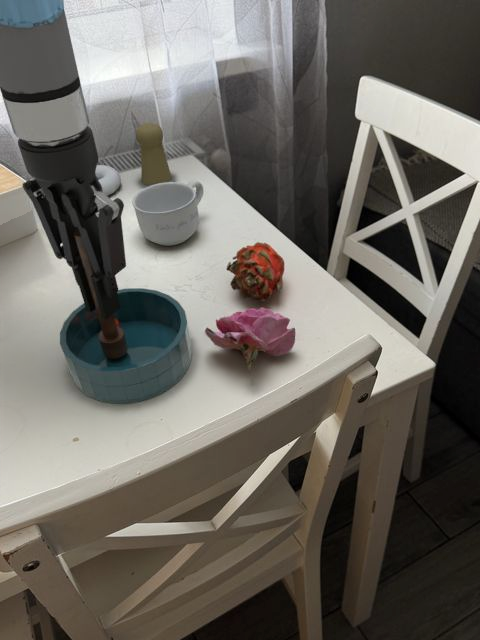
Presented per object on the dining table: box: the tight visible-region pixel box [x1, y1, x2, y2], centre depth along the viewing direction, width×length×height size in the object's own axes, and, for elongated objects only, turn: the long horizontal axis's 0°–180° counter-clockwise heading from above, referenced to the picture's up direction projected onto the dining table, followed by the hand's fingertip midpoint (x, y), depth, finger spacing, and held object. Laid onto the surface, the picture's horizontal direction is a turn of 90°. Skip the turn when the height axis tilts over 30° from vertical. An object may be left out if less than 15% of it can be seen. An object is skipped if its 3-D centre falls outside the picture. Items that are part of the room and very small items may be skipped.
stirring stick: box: [74, 229, 128, 359], centre depth 76 cm, size 3×3×19 cm
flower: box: [204, 306, 296, 386], centre depth 80 cm, size 11×10×10 cm
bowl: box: [59, 287, 193, 405], centre depth 81 cm, size 17×17×6 cm
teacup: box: [131, 179, 204, 247], centre depth 103 cm, size 14×11×8 cm
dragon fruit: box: [226, 241, 285, 302], centre depth 91 cm, size 8×8×12 cm
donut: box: [95, 164, 122, 197], centre depth 117 cm, size 10×3×10 cm
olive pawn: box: [135, 122, 173, 187], centre depth 117 cm, size 6×6×11 cm
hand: (103, 308), depth 77 cm, fingers closed on stirring stick, 2 cm apart
